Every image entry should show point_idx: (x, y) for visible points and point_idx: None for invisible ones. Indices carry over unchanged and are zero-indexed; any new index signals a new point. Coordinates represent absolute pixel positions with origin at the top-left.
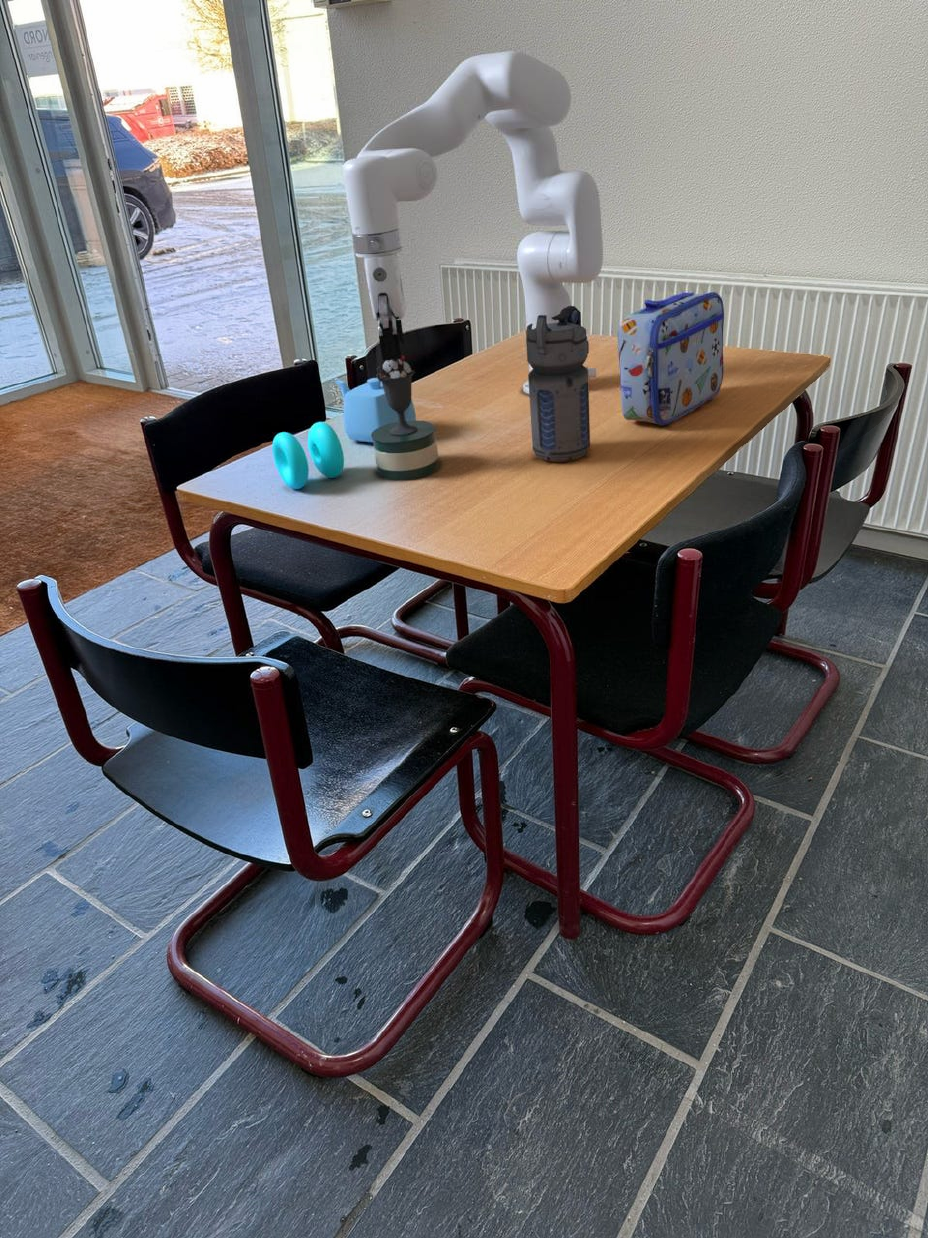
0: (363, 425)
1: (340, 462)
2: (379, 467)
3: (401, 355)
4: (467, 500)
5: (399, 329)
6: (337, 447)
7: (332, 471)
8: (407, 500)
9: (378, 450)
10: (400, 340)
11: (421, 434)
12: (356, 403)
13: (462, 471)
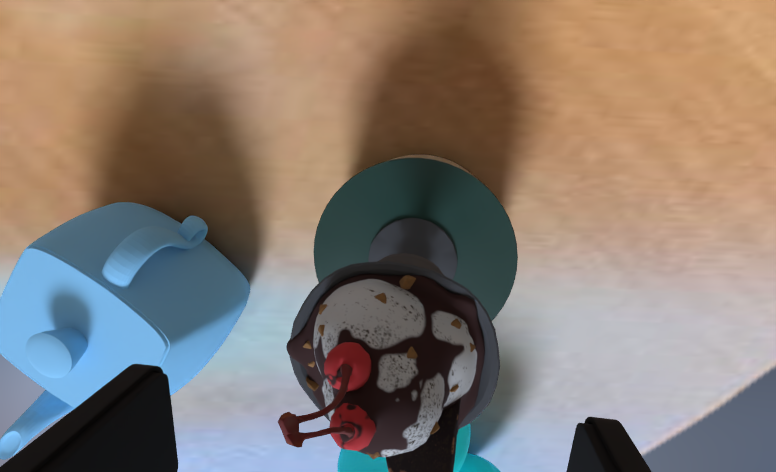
0: (215, 345)
1: None
2: None
3: (621, 428)
4: (712, 91)
5: (78, 465)
6: (465, 434)
7: None
8: (634, 243)
9: None
10: (155, 399)
11: (471, 207)
12: None
13: (491, 92)
